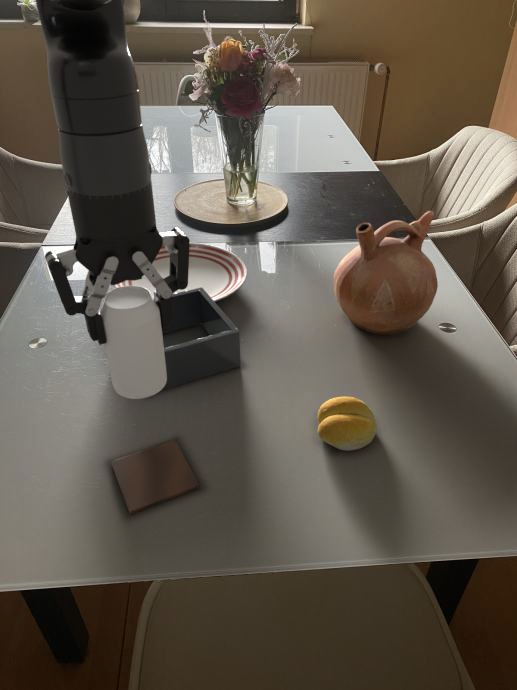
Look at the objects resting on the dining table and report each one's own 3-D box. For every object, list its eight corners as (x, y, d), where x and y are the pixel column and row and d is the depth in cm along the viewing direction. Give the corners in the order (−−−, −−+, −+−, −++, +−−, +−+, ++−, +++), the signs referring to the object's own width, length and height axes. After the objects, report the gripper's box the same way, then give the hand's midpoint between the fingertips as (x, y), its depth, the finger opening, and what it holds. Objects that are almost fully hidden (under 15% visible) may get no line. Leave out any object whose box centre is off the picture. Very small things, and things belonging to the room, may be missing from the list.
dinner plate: (269, 270, 116) (269, 257, 114) (202, 333, 96) (201, 317, 95) (165, 246, 127) (164, 232, 125) (85, 298, 107) (81, 283, 105)
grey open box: (147, 394, 83) (141, 358, 79) (119, 341, 94) (113, 307, 90) (240, 366, 89) (240, 331, 85) (204, 319, 100) (202, 287, 96)
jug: (396, 287, 111) (412, 192, 99) (450, 333, 97) (476, 229, 85) (315, 302, 106) (322, 204, 94) (359, 353, 92) (375, 245, 80)
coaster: (129, 514, 65) (129, 512, 64) (111, 464, 71) (110, 461, 71) (199, 487, 68) (199, 485, 68) (175, 442, 75) (175, 439, 74)
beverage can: (176, 375, 64) (167, 286, 57) (154, 408, 59) (141, 316, 52) (128, 366, 65) (114, 279, 58) (103, 398, 60) (84, 307, 54)
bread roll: (317, 452, 73) (319, 430, 71) (316, 408, 80) (318, 387, 78) (378, 455, 73) (382, 434, 70) (372, 410, 80) (375, 390, 78)
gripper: (170, 157, 54) (183, 301, 63) (18, 177, 48) (57, 331, 58) (198, 179, 48) (207, 333, 58) (31, 204, 43) (71, 369, 52)
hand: (132, 331), depth 58 cm, fingers closed on beverage can, 6 cm apart
